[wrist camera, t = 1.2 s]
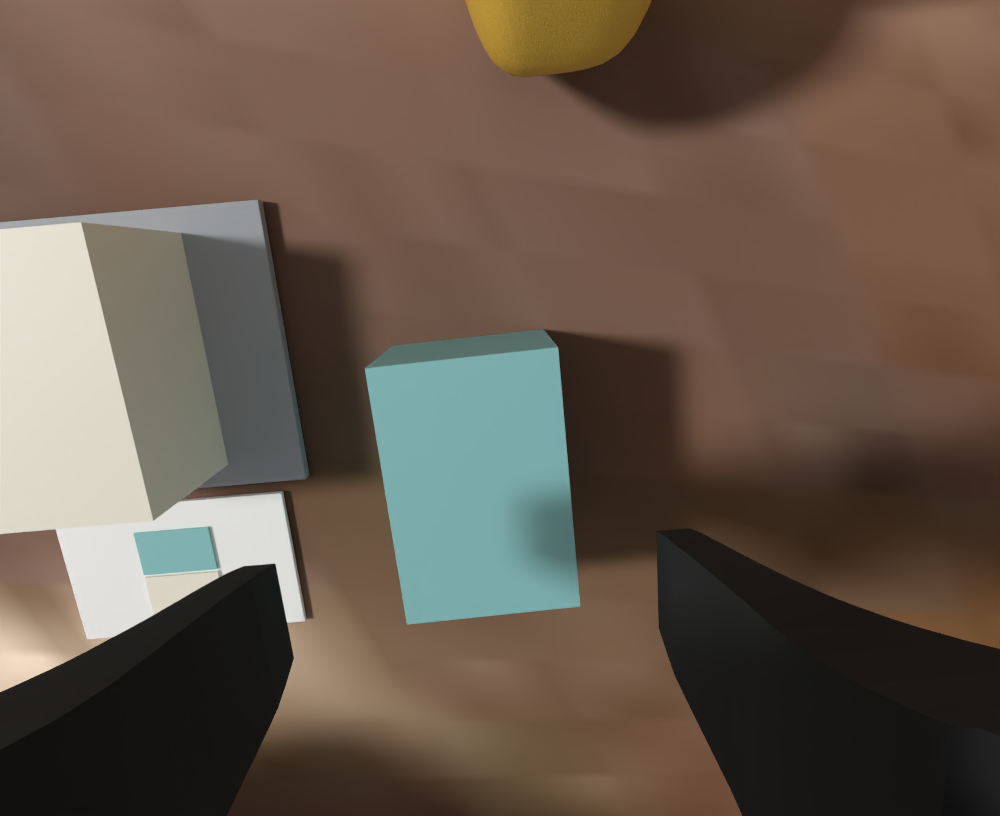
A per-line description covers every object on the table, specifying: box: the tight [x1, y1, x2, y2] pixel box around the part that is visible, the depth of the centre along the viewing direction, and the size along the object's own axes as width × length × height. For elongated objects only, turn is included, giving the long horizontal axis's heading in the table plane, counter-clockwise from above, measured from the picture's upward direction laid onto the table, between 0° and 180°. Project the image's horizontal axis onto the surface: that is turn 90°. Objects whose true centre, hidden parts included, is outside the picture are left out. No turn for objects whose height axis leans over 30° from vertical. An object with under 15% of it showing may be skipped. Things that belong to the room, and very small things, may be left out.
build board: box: [0, 200, 309, 488], centre depth 19 cm, size 9×10×1 cm
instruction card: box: [56, 491, 306, 639], centre depth 21 cm, size 5×8×1 cm, turn 95°
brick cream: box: [0, 222, 228, 534], centre depth 17 cm, size 8×5×4 cm, turn 5°
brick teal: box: [365, 329, 580, 624], centre depth 18 cm, size 8×5×4 cm, turn 6°
